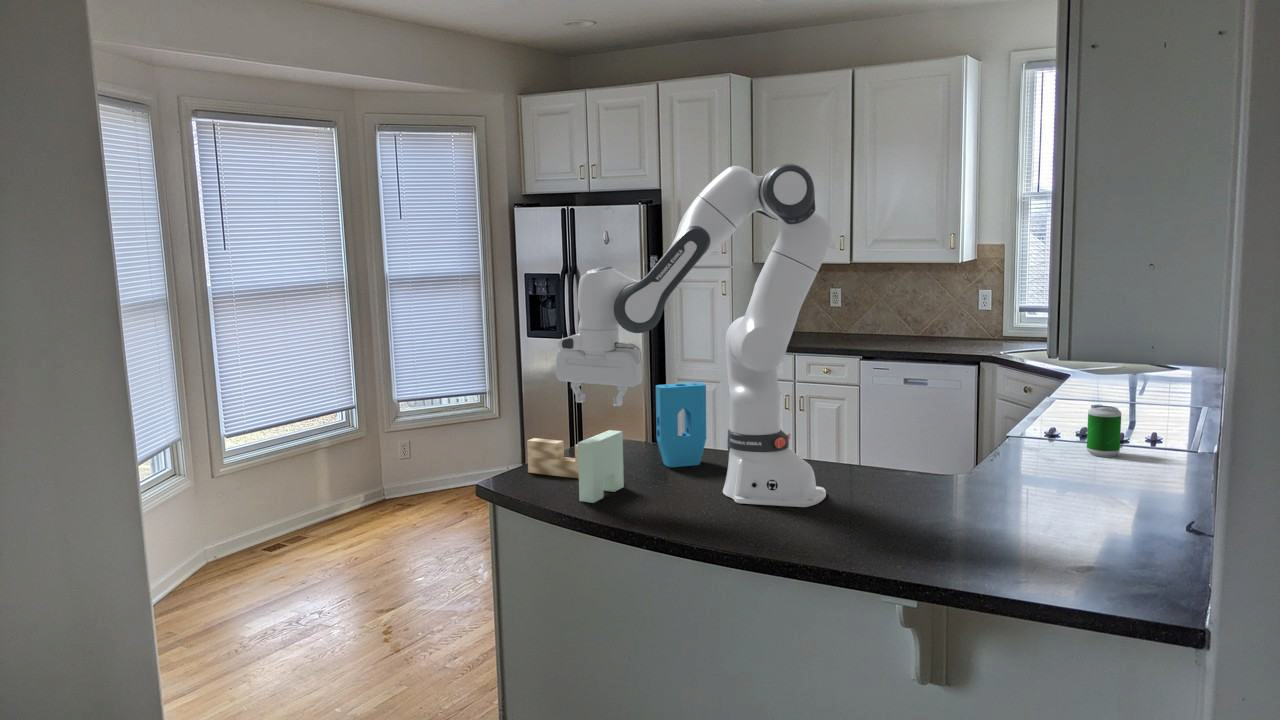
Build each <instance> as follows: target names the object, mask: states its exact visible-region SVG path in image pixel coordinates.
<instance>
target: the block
mask: <svg viewBox="0 0 1280 720" xmlns="http://www.w3.org/2000/svg"><path fill="white" fill-rule="evenodd" d="M682 410H684V432H683V431H682V432H681V435H679V423H678V422H679V420H678V419H679V416H678V415H679V413H680V412H681V411H682ZM655 420H656V422H655V423H656V427H655V428H656V429H655V430H656V442H657V446H658V449H659V452H660V456H661V459H662V462H663V465H664V466H666V467H667V468H679V467H691V466H699V465H701V461H702V458H703V453H704V449H705V445H706V441H707V385H706V384H705V383H704V382H684V383H668V384H667V383H665V384H657V385H655Z"/></svg>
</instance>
